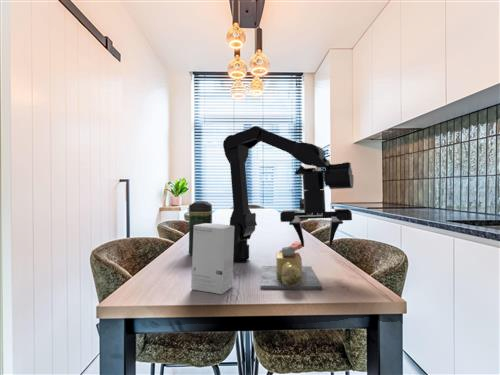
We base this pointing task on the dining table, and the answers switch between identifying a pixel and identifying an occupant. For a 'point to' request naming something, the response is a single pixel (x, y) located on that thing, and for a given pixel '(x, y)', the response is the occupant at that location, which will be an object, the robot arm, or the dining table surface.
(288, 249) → the lever
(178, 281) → the dining table surface
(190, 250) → the coffee jar
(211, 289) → the skincare box
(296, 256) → the valve body
